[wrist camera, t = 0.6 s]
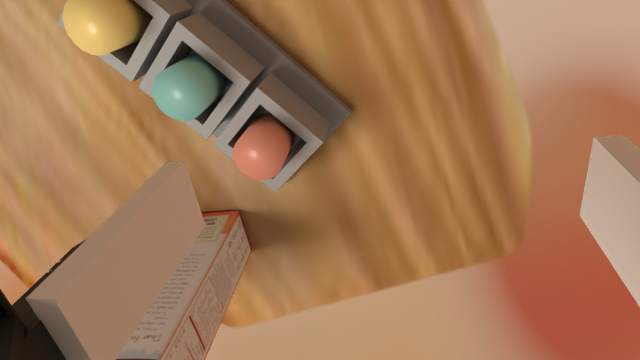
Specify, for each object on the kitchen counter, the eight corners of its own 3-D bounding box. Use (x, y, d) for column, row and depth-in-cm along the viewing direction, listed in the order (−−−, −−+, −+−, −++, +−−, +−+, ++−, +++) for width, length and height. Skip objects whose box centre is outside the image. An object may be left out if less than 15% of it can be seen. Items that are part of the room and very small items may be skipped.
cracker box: (142, 258, 49) (-4, 444, 31) (122, 215, 46) (-52, 393, 28) (255, 254, 46) (165, 457, 28) (241, 208, 43) (130, 402, 25)
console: (81, 24, 36) (39, 36, 31) (130, -84, 31) (88, -86, 27) (283, 181, 40) (270, 210, 36) (352, 109, 36) (346, 133, 31)
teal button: (171, 79, 33) (143, 97, 30) (194, 42, 32) (167, 56, 28) (209, 110, 34) (187, 131, 31) (234, 76, 32) (214, 94, 29)
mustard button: (94, 18, 32) (54, 29, 28) (113, -24, 30) (74, -19, 26) (136, 52, 33) (103, 67, 29) (158, 13, 31) (126, 23, 27)
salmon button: (241, 135, 35) (223, 158, 31) (267, 103, 33) (251, 123, 30) (276, 163, 36) (263, 189, 32) (304, 133, 34) (293, 157, 30)
